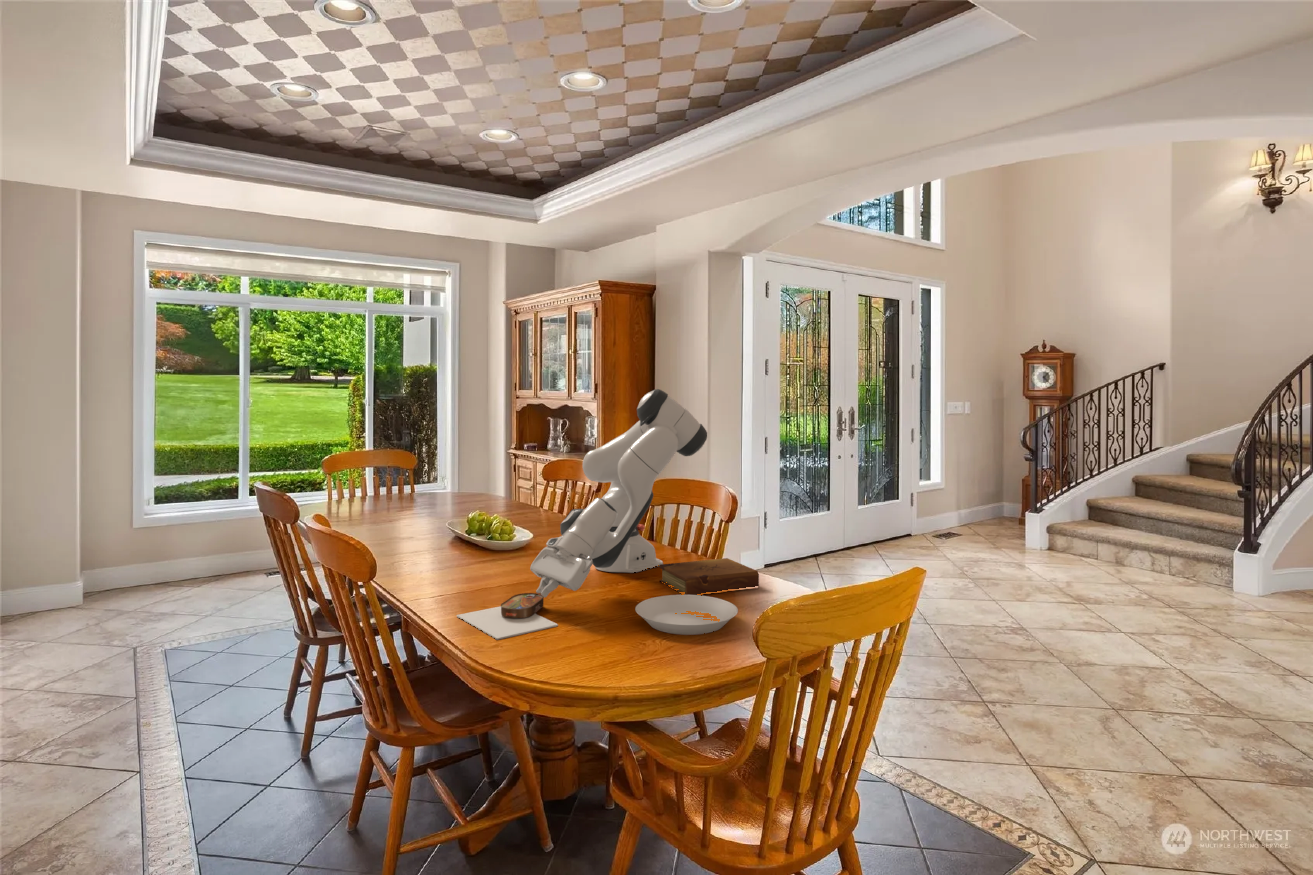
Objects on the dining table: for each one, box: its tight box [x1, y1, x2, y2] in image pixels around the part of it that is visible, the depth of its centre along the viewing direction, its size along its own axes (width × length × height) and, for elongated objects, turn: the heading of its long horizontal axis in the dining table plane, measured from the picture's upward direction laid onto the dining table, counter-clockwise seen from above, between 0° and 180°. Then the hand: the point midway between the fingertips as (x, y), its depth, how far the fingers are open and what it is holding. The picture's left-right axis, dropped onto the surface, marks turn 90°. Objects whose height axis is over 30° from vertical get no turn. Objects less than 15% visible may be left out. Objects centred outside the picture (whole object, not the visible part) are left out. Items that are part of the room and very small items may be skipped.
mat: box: [455, 605, 559, 641], centre depth 176 cm, size 16×22×1 cm
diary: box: [658, 557, 760, 595], centre depth 210 cm, size 23×19×6 cm
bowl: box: [634, 594, 739, 636], centre depth 175 cm, size 25×25×4 cm
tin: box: [500, 592, 545, 618], centre depth 183 cm, size 15×3×8 cm
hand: (540, 594), depth 182 cm, fingers closed
